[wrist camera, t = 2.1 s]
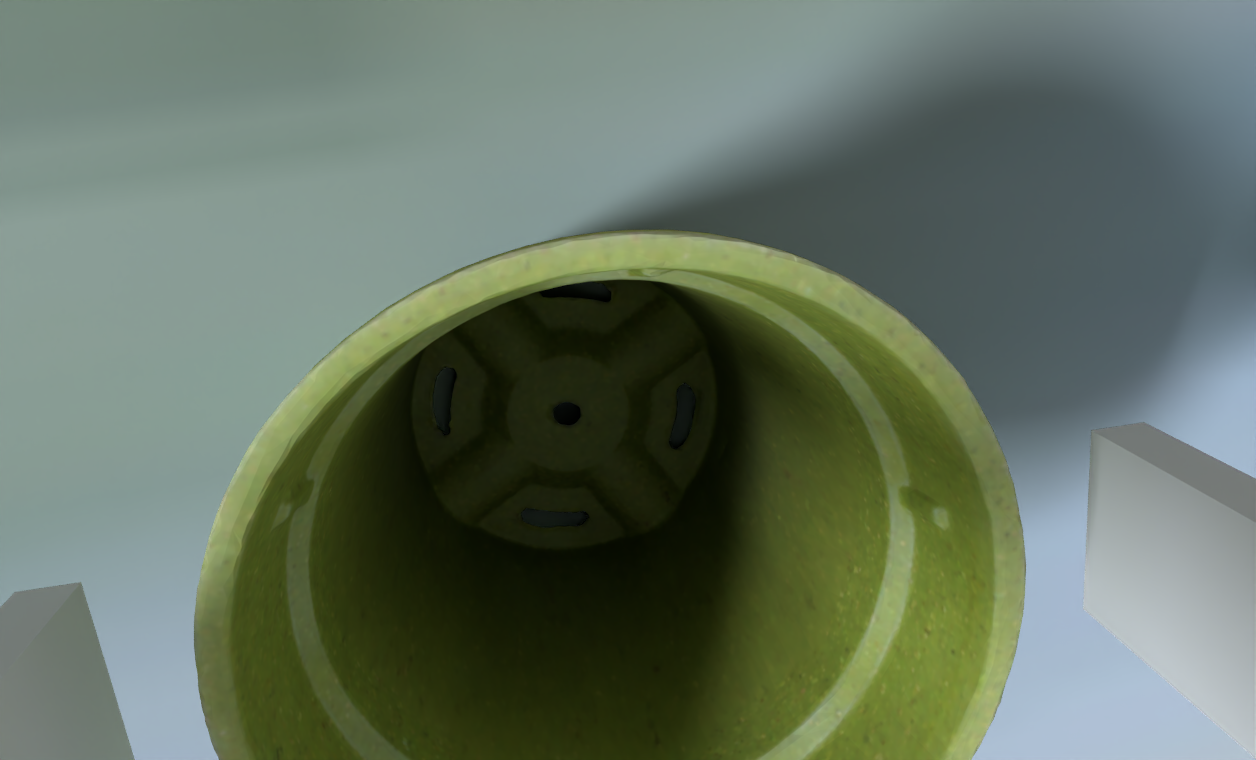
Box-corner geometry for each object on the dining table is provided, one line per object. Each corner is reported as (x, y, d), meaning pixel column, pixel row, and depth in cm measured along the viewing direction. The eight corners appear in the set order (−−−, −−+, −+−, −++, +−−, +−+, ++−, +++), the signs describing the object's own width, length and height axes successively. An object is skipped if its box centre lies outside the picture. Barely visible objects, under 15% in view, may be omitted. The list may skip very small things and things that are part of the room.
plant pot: (831, 179, 18) (1113, 261, 10) (769, 617, 21) (951, 960, 13) (321, 140, 17) (170, 199, 9) (324, 617, 20) (210, 1007, 11)
